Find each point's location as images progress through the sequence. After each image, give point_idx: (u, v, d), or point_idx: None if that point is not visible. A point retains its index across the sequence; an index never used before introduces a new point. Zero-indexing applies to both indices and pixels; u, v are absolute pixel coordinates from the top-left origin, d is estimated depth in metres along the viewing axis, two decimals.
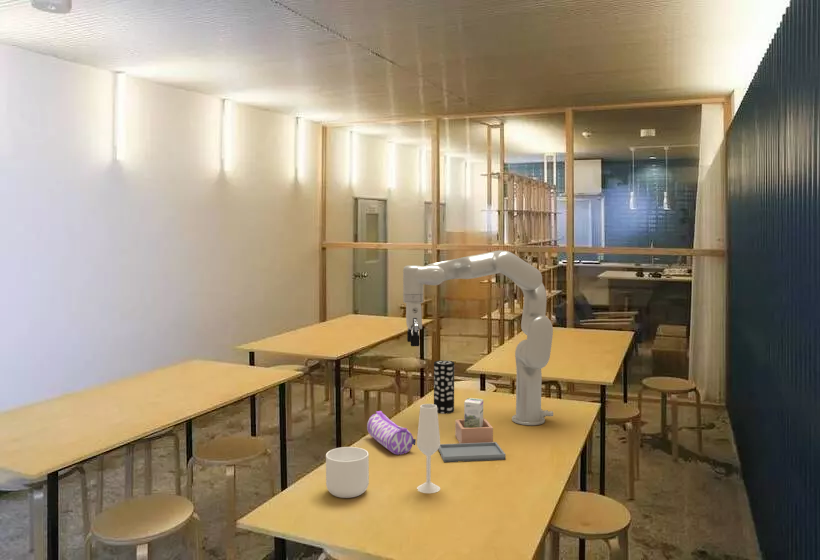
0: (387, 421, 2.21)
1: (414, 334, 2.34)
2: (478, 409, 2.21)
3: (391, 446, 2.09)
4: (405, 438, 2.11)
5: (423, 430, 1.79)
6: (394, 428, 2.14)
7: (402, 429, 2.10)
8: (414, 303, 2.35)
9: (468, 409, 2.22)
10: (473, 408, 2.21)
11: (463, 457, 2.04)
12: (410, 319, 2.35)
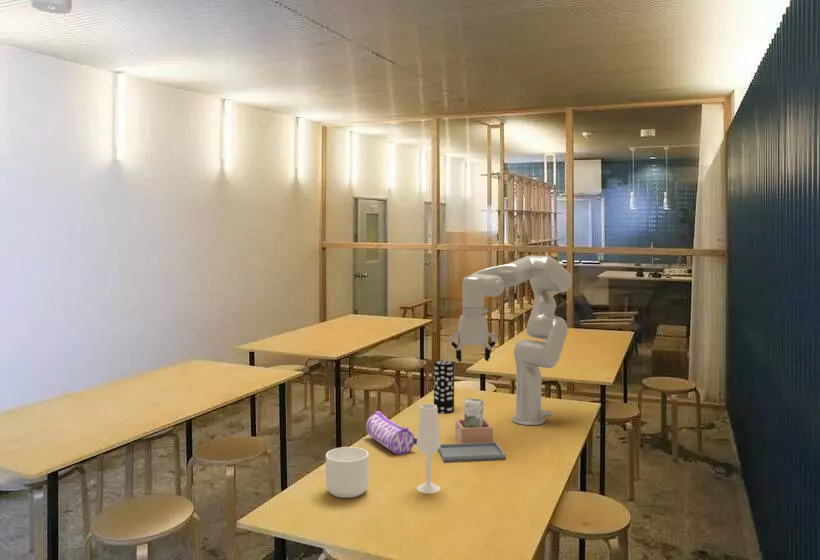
0: (387, 421, 2.21)
1: None
2: (478, 409, 2.21)
3: (393, 446, 2.09)
4: (407, 438, 2.11)
5: (423, 430, 1.79)
6: (395, 428, 2.14)
7: (404, 429, 2.10)
8: None
9: (468, 409, 2.22)
10: (473, 408, 2.21)
11: (463, 457, 2.04)
12: (487, 333, 2.21)
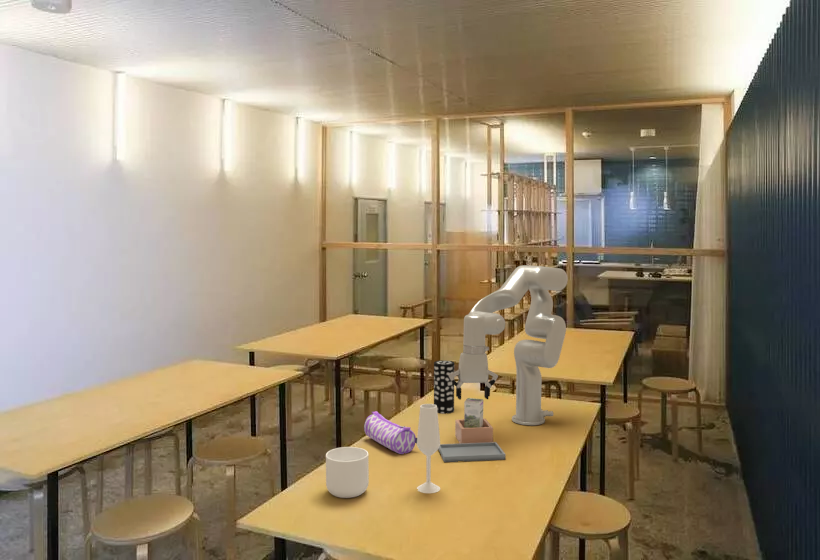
0: (386, 421, 2.21)
1: None
2: (478, 409, 2.21)
3: (395, 446, 2.09)
4: (409, 437, 2.12)
5: (423, 430, 1.79)
6: (396, 428, 2.14)
7: (406, 428, 2.11)
8: (485, 354, 2.23)
9: (468, 409, 2.22)
10: (473, 408, 2.21)
11: (463, 457, 2.04)
12: (488, 371, 2.22)
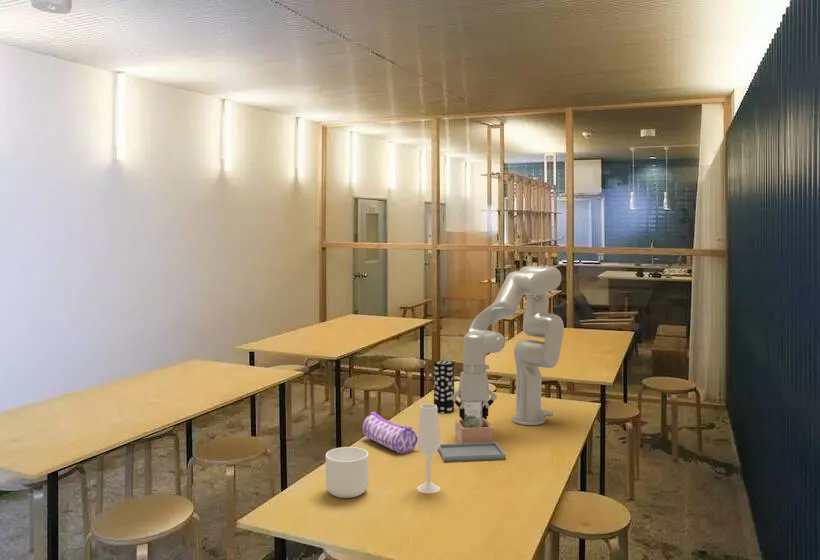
0: (385, 421, 2.21)
1: None
2: (478, 409, 2.21)
3: (397, 446, 2.09)
4: (410, 437, 2.12)
5: (423, 430, 1.79)
6: (397, 428, 2.14)
7: (407, 428, 2.11)
8: (485, 372, 2.24)
9: (468, 409, 2.22)
10: (473, 408, 2.21)
11: (463, 457, 2.04)
12: (488, 389, 2.23)
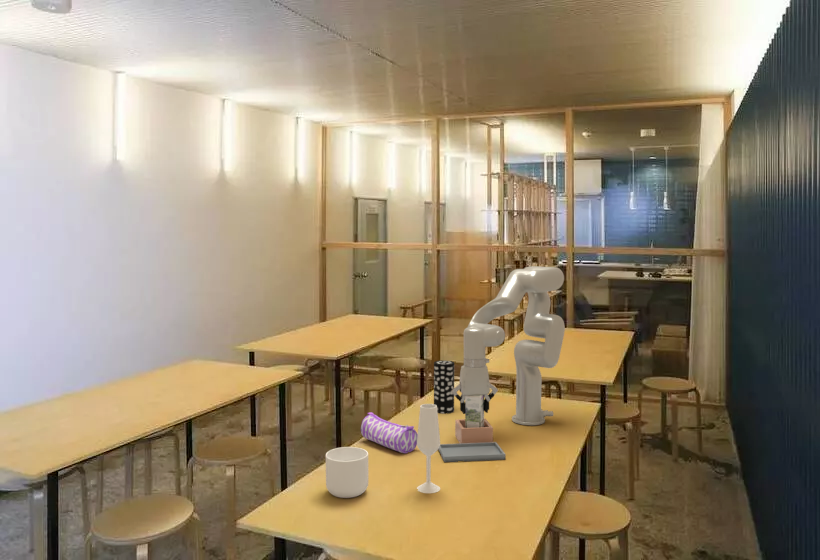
0: (385, 421, 2.21)
1: None
2: (479, 403, 2.21)
3: (400, 445, 2.10)
4: (412, 436, 2.13)
5: (423, 430, 1.79)
6: (398, 427, 2.14)
7: (409, 427, 2.12)
8: (486, 366, 2.24)
9: (469, 402, 2.22)
10: (474, 402, 2.21)
11: (463, 457, 2.04)
12: (489, 383, 2.23)
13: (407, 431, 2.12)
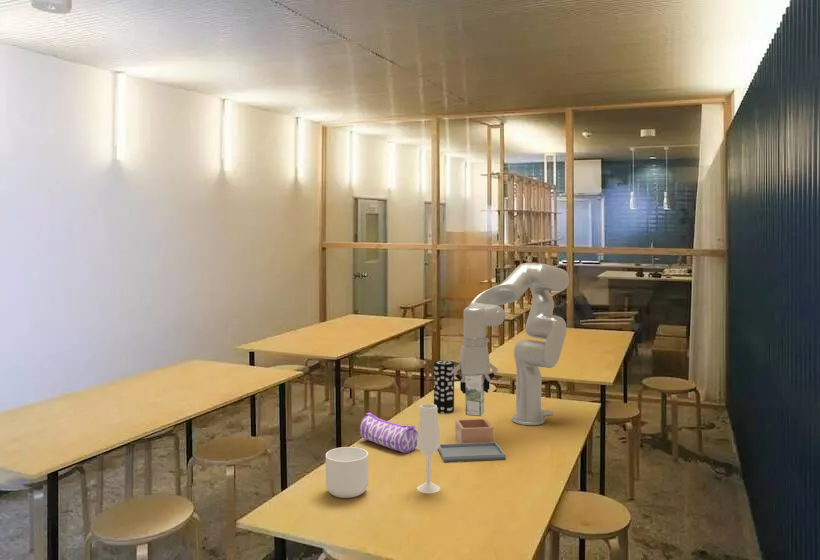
0: (384, 421, 2.21)
1: None
2: (479, 382, 2.20)
3: (402, 445, 2.10)
4: (413, 436, 2.13)
5: (423, 430, 1.79)
6: (399, 427, 2.15)
7: (411, 427, 2.12)
8: (486, 345, 2.23)
9: (469, 382, 2.21)
10: (474, 381, 2.21)
11: (463, 457, 2.04)
12: (489, 363, 2.22)
13: (408, 431, 2.12)
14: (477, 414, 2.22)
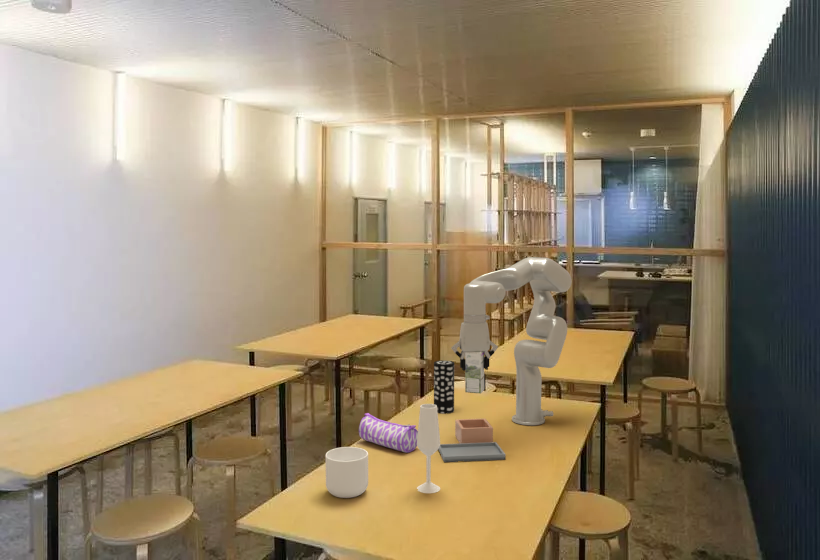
0: (384, 422, 2.21)
1: None
2: (479, 359, 2.20)
3: (404, 445, 2.10)
4: (414, 435, 2.14)
5: (423, 430, 1.79)
6: (400, 427, 2.15)
7: (412, 427, 2.12)
8: (486, 322, 2.22)
9: (469, 359, 2.21)
10: (474, 358, 2.20)
11: (463, 457, 2.04)
12: (489, 340, 2.21)
13: (409, 430, 2.12)
14: (477, 391, 2.21)
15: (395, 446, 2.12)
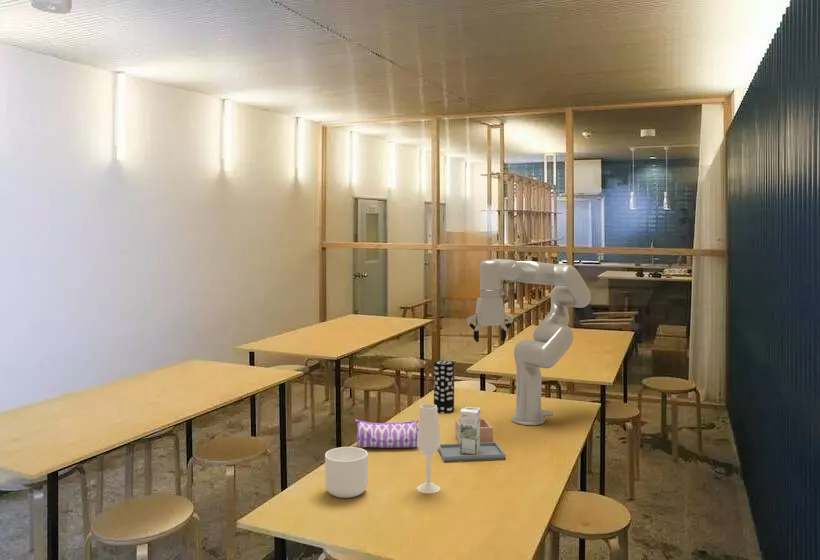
0: (381, 423, 2.18)
1: None
2: (475, 419, 2.06)
3: None
4: None
5: (423, 430, 1.79)
6: (404, 424, 2.18)
7: None
8: (501, 298, 2.33)
9: (464, 418, 2.08)
10: (470, 418, 2.07)
11: (463, 457, 2.04)
12: (504, 314, 2.32)
13: (416, 425, 2.18)
14: (472, 453, 2.08)
15: (407, 443, 2.15)
